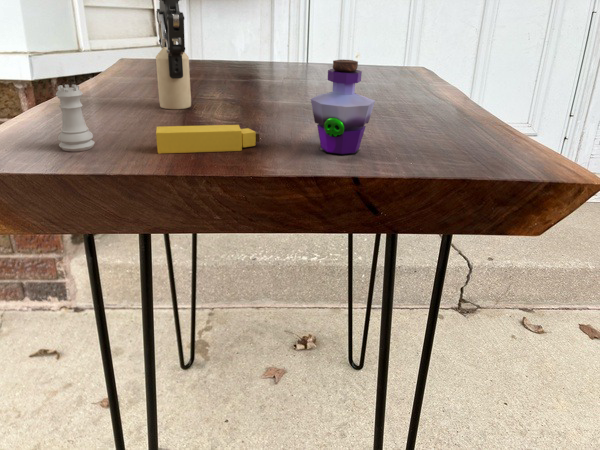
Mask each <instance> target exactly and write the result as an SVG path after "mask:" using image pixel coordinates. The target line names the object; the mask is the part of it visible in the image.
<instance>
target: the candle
mask: <svg viewBox="0 0 600 450" xmlns="http://www.w3.org/2000/svg"><path fill="white" fill-rule="evenodd" d="M155 64H156V77H157V88H158V89H157V91H158V101H159V107H160V108H162V109H164V110H165V109H166V110H184V109H188V108H191V107H192V93H191V91H192V90H191V76H190V74H191V73H190V57H189V55H188V53H186V51H185V52H184V53H183V55H182V64H183V77H182V78H174V79H173V78H171V77H170V76H169V63H168V53H167V47H164V48H161V50H160V51H159V52H158V53H157V54H156V55H155Z"/></svg>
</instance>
